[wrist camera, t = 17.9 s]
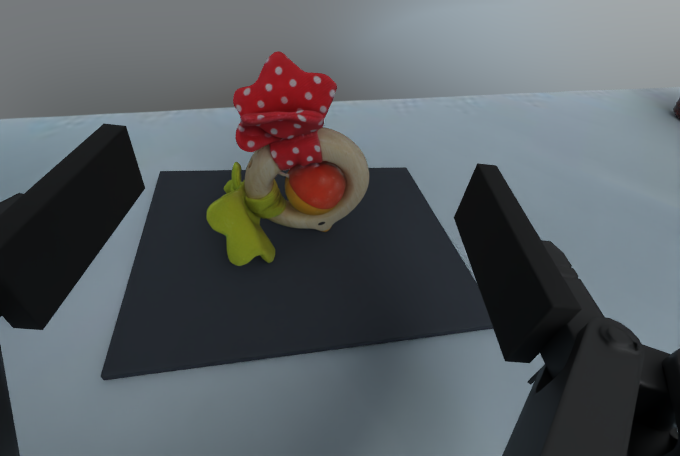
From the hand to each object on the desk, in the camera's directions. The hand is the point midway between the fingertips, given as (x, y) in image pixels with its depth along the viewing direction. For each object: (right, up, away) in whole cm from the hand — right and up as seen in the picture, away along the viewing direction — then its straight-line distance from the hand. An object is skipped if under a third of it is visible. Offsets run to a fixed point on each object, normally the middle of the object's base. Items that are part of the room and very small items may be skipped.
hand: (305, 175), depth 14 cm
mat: (-1, -3, +10) cm, 10 cm away
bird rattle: (-2, -3, +10) cm, 10 cm away
